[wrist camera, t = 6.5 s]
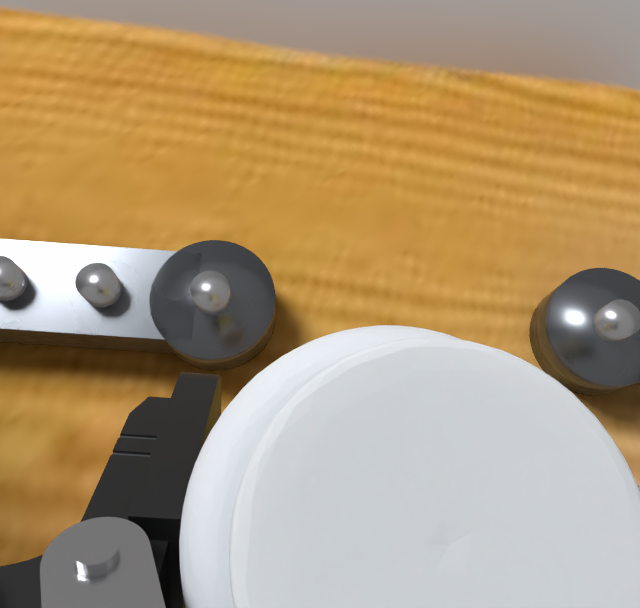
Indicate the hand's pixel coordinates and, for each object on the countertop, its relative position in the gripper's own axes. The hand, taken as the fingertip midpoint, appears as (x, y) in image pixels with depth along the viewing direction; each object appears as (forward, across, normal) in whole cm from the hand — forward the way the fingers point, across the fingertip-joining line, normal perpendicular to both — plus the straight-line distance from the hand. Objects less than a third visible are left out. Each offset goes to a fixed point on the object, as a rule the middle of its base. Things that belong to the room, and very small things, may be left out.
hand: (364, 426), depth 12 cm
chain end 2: (+9, -11, +3) cm, 15 cm away
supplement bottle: (+2, 0, +4) cm, 5 cm away
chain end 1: (+10, +7, +3) cm, 13 cm away
